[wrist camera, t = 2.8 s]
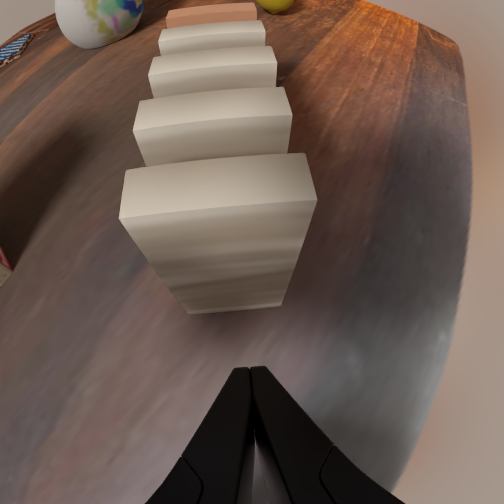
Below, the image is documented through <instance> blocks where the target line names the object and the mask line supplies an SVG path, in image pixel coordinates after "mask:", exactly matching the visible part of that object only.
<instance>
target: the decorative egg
mask: <svg viewBox="0 0 504 504" xmlns="http://www.w3.org/2000/svg"><path fill="white" fill-rule="evenodd" d="M143 7H144V0H55V12H56V18H57V22H58V24H59V27H60V29H61V31H62V32H63V34H64V35H65V37H66V38H67V39H68V40H69V41H71V42H72V43H73V44H75V45H77V46H79V47H81V48H84V49H94V48H99V47H102V46H105V45H108V44H111V43H113V42H116V41H118V40H120V39H122V38H124V37H125V36H127V35H128V34H130V33H131V32H132V31H133V30H134V29H135V28H136V26H137V24H138V22H139V20H140V18H141V15H142V12H143Z"/></svg>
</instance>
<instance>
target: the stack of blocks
mask: <svg viewBox="0 0 504 504" xmlns="http://www.w3.org/2000/svg"><path fill="white" fill-rule="evenodd" d="M12 272H13V271H12V268H11V266H10V264H9V262H8V260H7V258H6V256H5V254H4V252H3V250H2V248H1V246H0V287H1V286H2V285H3V283H4V282H5V281H6V280H7V278H8V277H9V276H10V275H11V274H12Z"/></svg>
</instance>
